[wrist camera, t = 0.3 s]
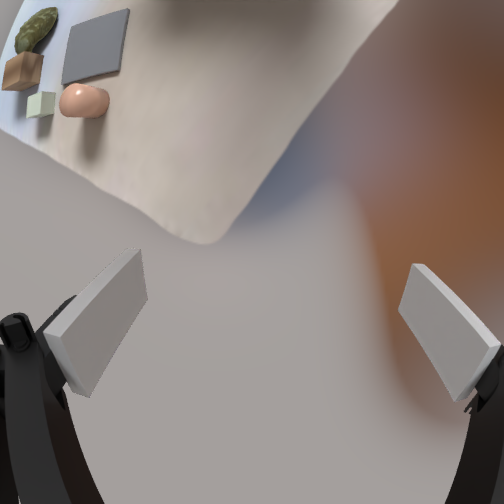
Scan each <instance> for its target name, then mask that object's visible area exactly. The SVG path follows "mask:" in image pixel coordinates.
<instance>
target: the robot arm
mask: <svg viewBox="0 0 504 504" xmlns="http://www.w3.org/2000/svg"><path fill="white" fill-rule="evenodd" d="M147 300H148V298H147V292H146V285H145V279H144V271H143V263H142V255H141V249H131V248H127V249H125V250H124V251H123V252H122V253H121V254H120V255H119V256H118V257H117V258H116V259H114V260H113V262H111V263H110V264H109V265H108V266H107V267H106V268H105V269H104V270H103V271H102V272H101V273H100V274H98V276H96V277H95V278H94V279H93V280H92V281H91V282H90V283H89V284H88V285H87V286H86V287H85V288H84V289H83V290H82V291H81V292H80V293H79V294H78V295H75V296H73V297H71V298H69V299H68V300H66V301H65V302H64V303H63V304H62V305H61V306H60V307H59V308H58V310H56V311H55V312H54V313H53V315H51V316H50V317H49V318H48V319H47V320H46V322H44V324H43V325H42V326H41V327H40V328H39V329H38V330H37V331H36V332H35V333H34V331H33V328H32V326H31V323H30V321H29V318H28V316H27V315H25V314H24V313H13V314H11V315H8V316H7V317H5V318H3V319H2V320H1V321H0V337H1V339H2V341H3V343H4V345H0V504H19V499H20V502H21V504H104V502H103V500H102V498H101V495H100V494H99V491H98V489H97V487H96V485H95V483H94V480H93V478H92V475H91V473H90V471H89V468H88V466H87V463H86V461H85V458H84V455H83V452H82V450H81V447H80V444H79V441H78V438H77V435H76V432H75V428H74V425H73V421H72V418H71V414H70V410H69V407H68V403H67V398H66V394H65V392H64V390H63V388H62V387H63V386H64V384H65V383H66V381H67V383H68V385H69V387H70V388H71V390H72V392H74V393H76V394H79V395H82V396H85V397H88V398H90V396H91V394H92V392H93V390H94V388H95V386H96V385H97V383H98V381H99V379H100V378H101V376H102V374H103V372H104V370H105V369H106V367H107V365H108V364H109V362H110V360H111V358H112V357H113V355H114V353H115V351H116V350H117V348H118V346H119V345H120V343H121V341H122V340H123V338H124V337H125V335H126V333H127V332H128V330H129V328H130V327H131V325H132V323H133V322H134V320H135V319H136V317H137V315H138V314H139V312H140V311H141V309H142V307H143V306H144V304H145V303H146V301H147ZM398 311H399V312H400V314H401V315H402V317H403V318H404V320H405V321H406V323H407V324H408V326H409V327H410V329H411V330H412V332H413V333H414V335H415V336H416V338H417V339H418V341H419V343H420V344H421V346H422V348H423V349H424V351H425V352H426V354H427V356H428V357H429V359H430V361H431V362H432V364H433V366H434V367H435V369H436V371H437V372H438V374H439V376H440V377H441V379H442V381H443V383H444V384H445V386H446V388H447V390H448V392H449V393H450V395H451V397H452V399H453V401H454V402H456V401H460V400H462V399H466V398H467V397H468V396H469V394H470V393H471V392H472V390H473V389H474V387H475V388H476V390H477V391H478V392H477V394H476V395H475V397H474V398H473V399H472V400H471V402H470V403H469V404H468V406H467V407H466V408H465V410H464V412H467V410H468V409H469V408H470V407H472V410H471V411H470V412H469V414H471V416H470V422H469V427H468V431H467V436H466V440H465V444H464V448H463V452H462V455H461V459H460V462H459V466H458V469H457V472H456V475H455V478H454V481H453V484H452V487H451V489H450V492H449V495H448V497H447V499H446V502H445V504H504V346H503V345H502V344H501V343H500V342H499V340H498V339H497V338H496V337H495V336H494V335H493V334H492V332H491V331H490V330H489V329H488V328H487V327H486V326H485V325H484V324H483V322H482V321H481V320H480V319H479V318H478V317H477V316H476V315H475V314H474V313H473V312H472V311H471V310H470V309H469V308H468V307H467V305H466V304H465V303H463V301H462V300H461V299H459V297H458V296H457V295H456V294H455V293H454V292H453V291H452V290H451V289H450V288H449V287H448V286H447V285H446V284H444V283H443V282H442V281H441V280H440V279H439V278H438V277H437V276H436V275H435V274H434V273H433V272H432V271H431V270H430V269H429V268H427V267H426V266H425V265H424V264H412V266H411V270H410V274H409V277H408V280H407V284H406V287H405V290H404V293H403V297H402V300H401V303H400V306H399V308H398ZM18 495H19V499H18Z"/></svg>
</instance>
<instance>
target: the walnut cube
mask: <svg viewBox="0 0 504 504" xmlns="http://www.w3.org/2000/svg"><path fill="white" fill-rule="evenodd" d="M43 58H44V55H40V54H35V53H31V52H26V51H24V52H22V53H20V54H19V55H17V56H15V57H13V58H12V59H10V60H9V61H7V62H6V65H5V71H4V77H3V83H2V90H7V91H23V90H25V89H27V88H29V87H32V86H34V85H36V84H39V83H40V77H41V70H42V64H43Z"/></svg>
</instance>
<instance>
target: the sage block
mask: <svg viewBox="0 0 504 504" xmlns="http://www.w3.org/2000/svg"><path fill="white" fill-rule="evenodd" d="M55 95H56V93H54V92H44V91H42V92H39V93H36V94H34V95H31V96H29V97H28V101H27V114H26V118H41V117H44V116H48V115H51V114H54V107H55Z"/></svg>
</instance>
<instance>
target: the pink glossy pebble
mask: <svg viewBox="0 0 504 504" xmlns="http://www.w3.org/2000/svg"><path fill="white" fill-rule="evenodd" d="M109 101H110V98H109V94H108V92H107V91H106V90H104V89H100V88H96V87H92V86H87V85H83V84H78V83H74V84H71V85H69V86H68V87H67V88H66V89H65V90H64V92H63V93H62V95H61V98H60V102H59V108H60V111H61V113H62V114H63V115H64V116H66V117H83V118H98V117H100V116H102V115H103V114H104V113H105V112H106V110H107V108H108V106H109Z"/></svg>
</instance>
